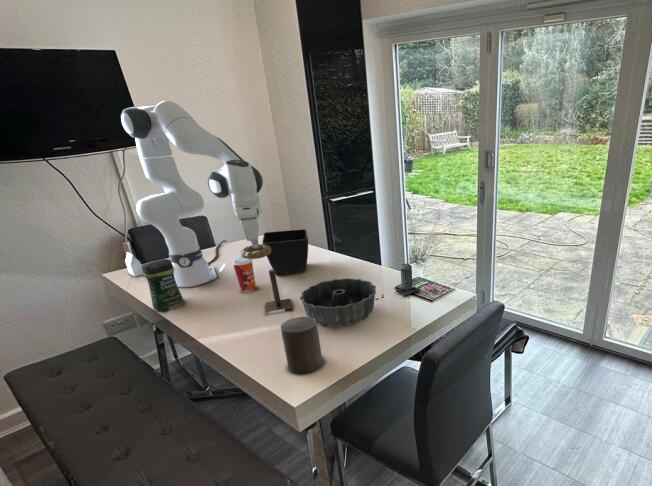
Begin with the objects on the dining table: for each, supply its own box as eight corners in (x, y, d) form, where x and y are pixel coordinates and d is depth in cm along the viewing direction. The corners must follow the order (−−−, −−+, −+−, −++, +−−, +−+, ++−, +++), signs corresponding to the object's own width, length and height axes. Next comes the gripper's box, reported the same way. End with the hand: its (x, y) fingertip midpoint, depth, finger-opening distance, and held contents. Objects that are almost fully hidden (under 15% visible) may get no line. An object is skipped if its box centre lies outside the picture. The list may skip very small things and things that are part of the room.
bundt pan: (318, 300, 161) (314, 277, 157) (384, 300, 160) (382, 277, 156) (292, 334, 137) (287, 307, 133) (370, 334, 136) (367, 307, 132)
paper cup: (251, 294, 167) (243, 262, 161) (234, 293, 168) (226, 261, 162) (262, 287, 174) (256, 256, 168) (246, 285, 175) (239, 255, 169)
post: (266, 305, 157) (258, 268, 151) (290, 301, 161) (283, 264, 155) (266, 314, 150) (258, 276, 144) (292, 310, 153) (285, 272, 147)
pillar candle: (299, 378, 114) (290, 331, 108) (282, 365, 120) (273, 320, 114) (329, 363, 120) (322, 318, 114) (311, 351, 126) (304, 308, 120)
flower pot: (311, 260, 204) (306, 228, 197) (313, 273, 187) (308, 238, 181) (270, 265, 198) (263, 232, 191) (269, 279, 181) (262, 243, 175)
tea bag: (134, 276, 187) (127, 255, 183) (129, 273, 190) (122, 253, 186) (144, 274, 189) (137, 253, 185) (138, 271, 193) (131, 250, 189)
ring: (242, 251, 148) (240, 245, 147) (271, 248, 152) (270, 242, 151) (240, 261, 140) (239, 255, 139) (272, 257, 143) (270, 251, 142)
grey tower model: (407, 287, 172) (405, 260, 167) (421, 291, 168) (420, 264, 163) (392, 294, 165) (390, 266, 160) (407, 299, 161) (405, 270, 156)
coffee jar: (161, 313, 152) (146, 266, 144) (150, 308, 156) (135, 263, 148) (187, 303, 159) (174, 259, 152) (177, 299, 163) (163, 255, 156)
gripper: (239, 204, 150) (247, 240, 156) (236, 215, 133) (245, 255, 138) (257, 202, 153) (265, 238, 158) (256, 213, 135) (265, 253, 141)
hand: (255, 246), depth 148 cm, fingers closed on ring, 2 cm apart
